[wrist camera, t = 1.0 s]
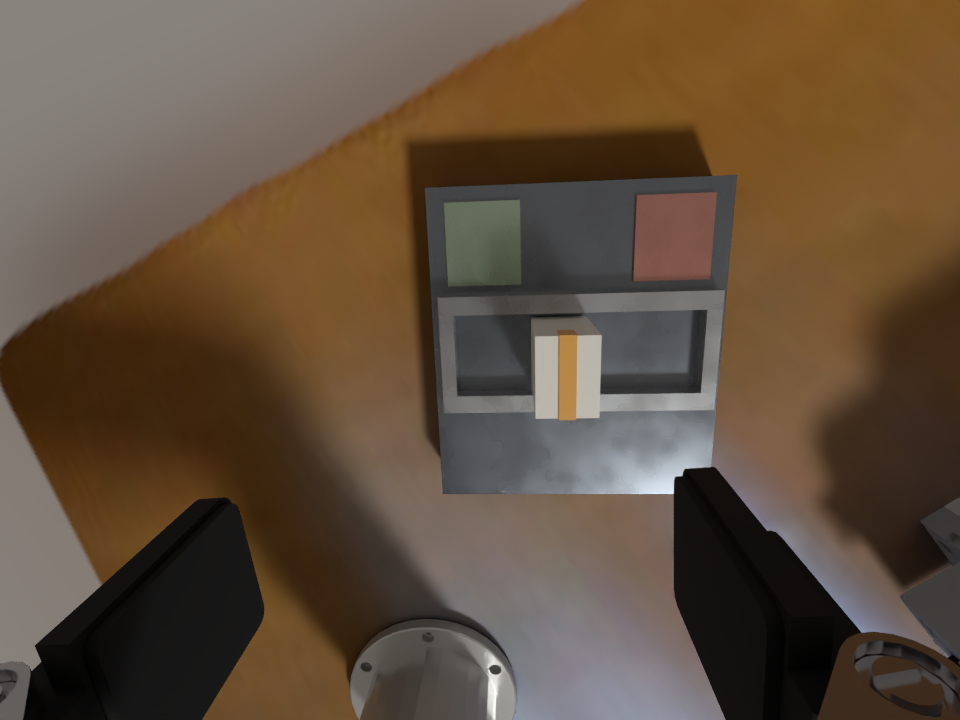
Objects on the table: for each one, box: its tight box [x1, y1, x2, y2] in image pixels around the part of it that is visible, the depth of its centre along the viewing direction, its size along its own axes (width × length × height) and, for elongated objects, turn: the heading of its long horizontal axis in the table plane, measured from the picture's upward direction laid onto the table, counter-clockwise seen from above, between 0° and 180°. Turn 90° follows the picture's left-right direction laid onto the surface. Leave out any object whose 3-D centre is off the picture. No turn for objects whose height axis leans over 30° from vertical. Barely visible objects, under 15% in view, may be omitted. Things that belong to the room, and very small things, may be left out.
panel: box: [425, 175, 737, 494], centre depth 29 cm, size 18×16×4 cm
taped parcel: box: [531, 316, 602, 420], centre depth 26 cm, size 4×3×5 cm
